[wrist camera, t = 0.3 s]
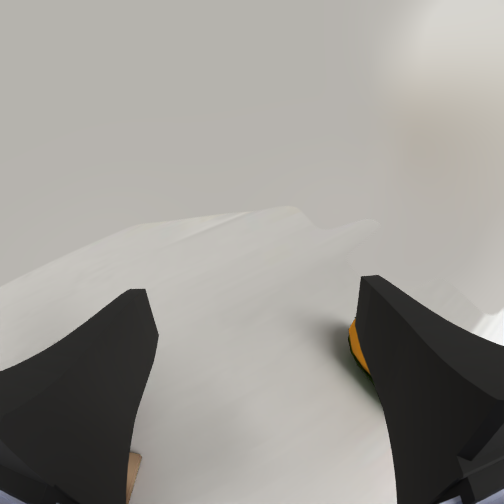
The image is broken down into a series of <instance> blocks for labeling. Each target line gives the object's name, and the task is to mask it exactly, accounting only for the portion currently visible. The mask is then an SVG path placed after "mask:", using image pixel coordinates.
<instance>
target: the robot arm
mask: <svg viewBox="0 0 504 504" xmlns="http://www.w3.org/2000/svg"><path fill="white" fill-rule="evenodd" d="M355 328H356V332H357V336H358V341H359V344H360V348H361V351H362V354H363V357H364V359H365V362H366V364H367V367H368V369H369V372H370V375H371V377H372V380H373V382H374V385H375V388H376V390H377V393H378V396H379V398H380V401H381V404H382V407H383V411H384V415H385V419H386V424H387V428H388V433H389V438H390V444H391V449H392V455H393V462H394V470H395V479H396V491H397V504H504V346H502V345H499V344H496V343H494V342H491V341H489V340H486V339H484V338H481V337H479V336H477V335H475V334H472V333H470V332H468V331H466V330H464V329H462V328H460V327H458V326H457V325H455V324H453V323H451V322H449V321H447V320H446V319H444V318H442V317H441V316H439V315H437V314H436V313H434V312H433V311H431V310H429V309H428V308H426V307H425V306H423V305H422V304H420V303H419V302H417V301H416V300H414V299H413V298H412V297H410V296H409V295H407V294H406V293H404V292H403V291H401V290H400V289H399V288H397V287H396V286H394V285H393V284H391V283H390V282H388V281H387V280H385V279H384V278H382V277H381V276H379V275H373V276H362V277H361V281H360V290H359V298H358V306H357V313H356V320H355ZM158 337H159V334H158V331H157V328H156V324H155V321H154V318H153V314H152V311H151V308H150V304H149V301H148V297H147V293H146V290H145V289H129V290H127V291H126V292H124V293H123V294H121V295H120V296H118V297H117V298H116V299H115V300H113V301H112V302H111V303H109V304H108V305H107V306H106V307H104V308H103V309H102V310H100V311H99V312H98V313H97V314H95V315H94V316H93V317H92V318H90V319H89V320H88V321H86V322H85V323H84V324H82V325H81V326H80V327H78V328H77V329H75V330H74V331H73V332H71V333H70V334H69V335H67V336H66V337H64V338H63V339H61V340H60V341H58V342H57V343H55V344H54V345H52V346H50V347H49V348H47V349H45V350H44V351H42V352H40V353H39V354H37V355H35V356H33V357H31V358H29V359H27V360H25V361H23V362H21V363H19V364H17V365H15V366H12V367H10V368H8V369H5V370H3V371H0V504H126V488H127V473H128V462H129V454H130V446H131V439H132V433H133V428H134V422H135V418H136V414H137V410H138V407H139V404H140V401H141V398H142V395H143V392H144V389H145V386H146V383H147V380H148V377H149V374H150V371H151V368H152V365H153V362H154V358H155V353H156V348H157V343H158Z"/></svg>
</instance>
